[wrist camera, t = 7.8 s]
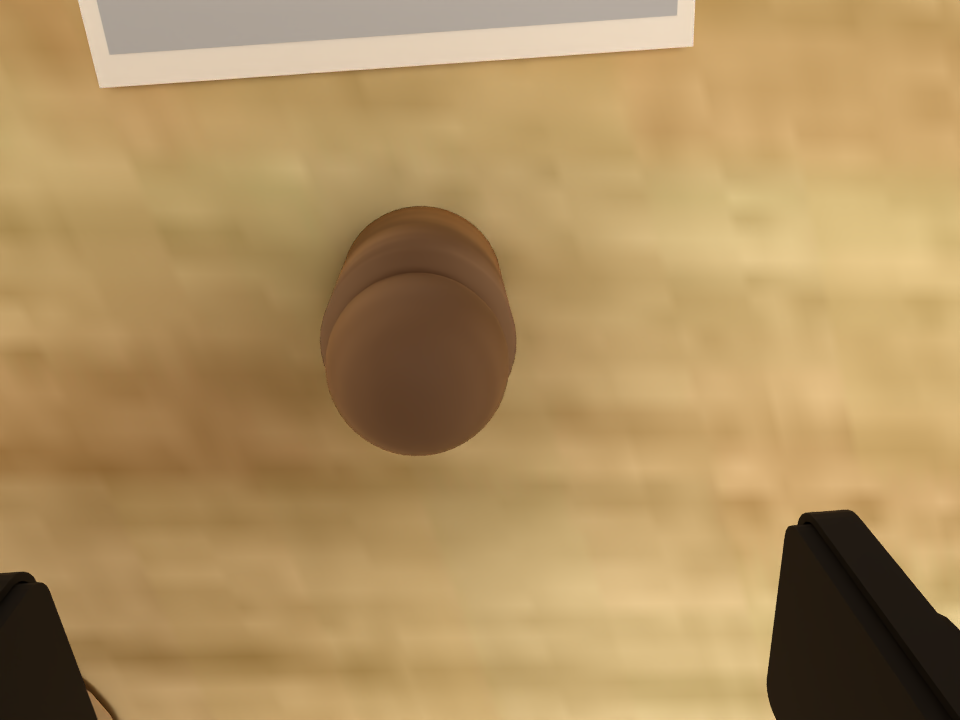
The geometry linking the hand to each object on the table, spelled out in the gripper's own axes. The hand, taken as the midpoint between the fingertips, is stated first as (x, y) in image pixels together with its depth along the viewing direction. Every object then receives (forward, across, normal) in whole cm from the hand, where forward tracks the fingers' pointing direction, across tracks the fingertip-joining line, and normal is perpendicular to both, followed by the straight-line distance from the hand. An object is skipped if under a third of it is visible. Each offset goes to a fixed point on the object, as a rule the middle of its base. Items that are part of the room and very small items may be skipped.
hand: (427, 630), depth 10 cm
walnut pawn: (+16, +1, 0) cm, 16 cm away
